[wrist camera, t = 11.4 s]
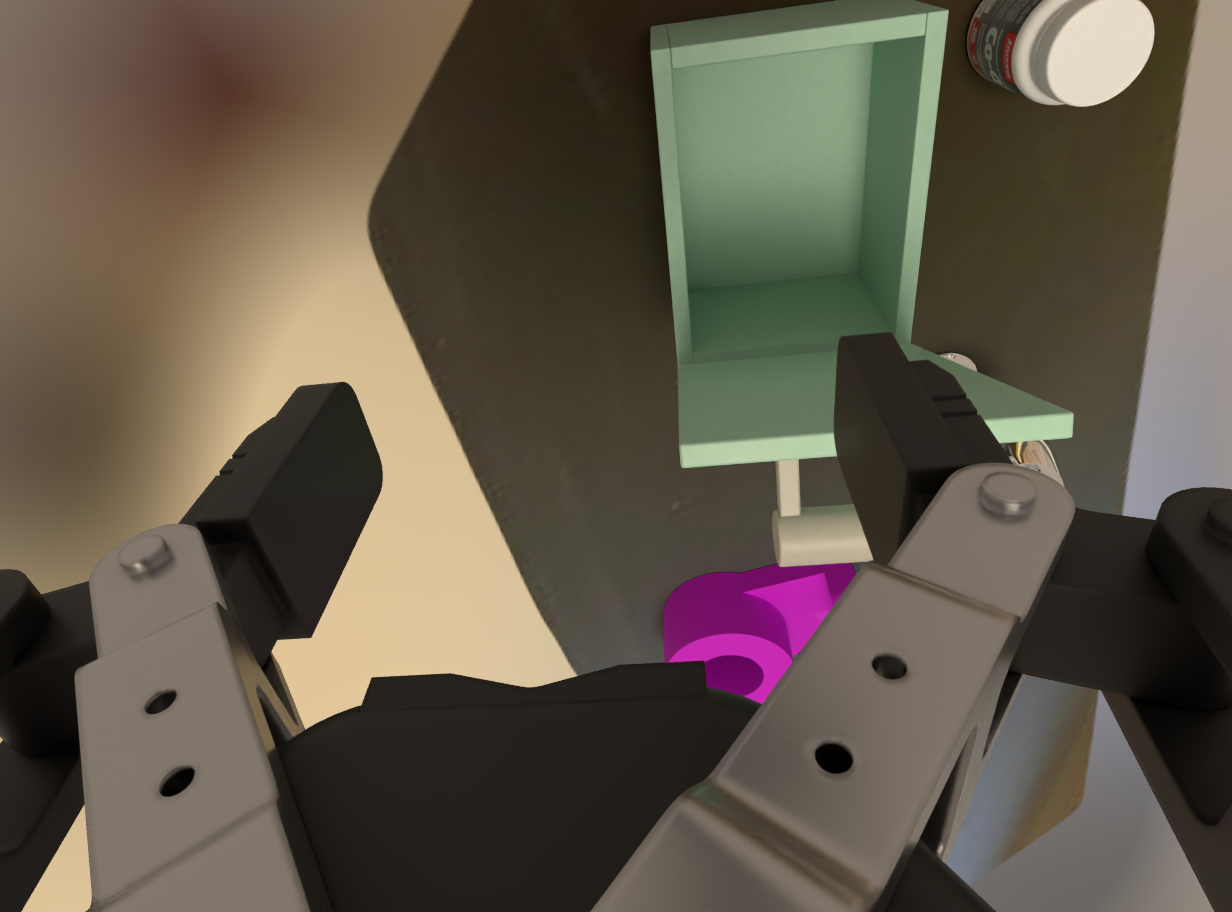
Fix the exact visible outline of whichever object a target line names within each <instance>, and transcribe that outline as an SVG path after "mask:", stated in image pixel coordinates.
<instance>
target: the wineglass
mask: <svg viewBox="0 0 1232 912" xmlns="http://www.w3.org/2000/svg"><path fill="white" fill-rule="evenodd" d="M937 355H939V356H941V357H944V358H946V359H948V360H951V361H953V362H955V363H958V364H960V365H962V366H965V367H967V368H970V369H972V370H974V371H977V372H978V370H977V367H976V365H975V364H974V363H973V361H972V360H971V359H969V358H968V357H967V356H965V355H962V354H959V353H952V352H948V353H941V354H937ZM1000 445H1001V446H1002V448H1003V449H1004V451H1005V452H1006V454H1007V455H1008V457H1009V458H1010V460H1011V461H1012V463H1013V464H1014V465H1018V466H1023V467H1027V468H1030V469H1033V470H1036V471H1038V472H1040V473H1043V474H1045V475H1047V476H1049V477H1050V478H1052V479H1054V480H1055V481H1057V482H1058V483H1059V484H1061V485H1062V486H1063V487H1064V484H1063V480H1062V475H1061V471H1060V468H1059V465H1058V462H1057V459H1056V457H1055V454H1054V452H1053V450H1052V447H1051V445H1050V444H1049V442H1048V440H1037V441H1024V442H1011V443H1000Z"/></svg>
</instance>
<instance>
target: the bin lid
mask: <svg viewBox="0 0 1232 912" xmlns="http://www.w3.org/2000/svg"><path fill="white" fill-rule="evenodd" d="M900 347H901V349H902V350H903V352H904V354H905V355H906V357H907V359H908V360H909V361H918V360H929V361H931V362H933V363H934V364H936V365H938V366H939V367H941V368H943V369H944V370H946V371H947V372H949V373H951V374H952V375H954V377H955V378H956V380H957V381H958V383H959V384H960V386H961V387H962V389H963V390H964V391H965V393H966V394H967V395H966V397H967V399H968V398H969V399H970V400H971V402H972V403H973V405H974V406H975V408H976V409H977V414H978V415H981V417H982V418H983V420H984V421H985V423H986V424H987V426H988V427H989V429H990V430H991V431H992V433H993V434H994V436H995V437H996V439H997V440H998V442H999V443H1011V442H1024V441H1037V440H1050V439H1063V438H1070V437H1072V433H1073V417H1074V415H1073V413H1072V412H1070V411H1068V410H1065V409H1063V408H1061V407H1058V406H1056V405H1054V404H1051V403H1049V402H1047V401H1044V400H1042V399H1040V398H1037V397H1035V396H1033V395H1030V394H1028V393H1026V392H1023V391H1021V390H1019V389H1016V388H1014V387H1012V386H1009V385H1007V384H1005V383H1002V382H1000V381H998V380H995V379H993V378H991V377H988V376H986V375H984V374H981V373H979V372H977V371H974V370H972V369H970V368H967V367H965V366H962V365H960V364H958V363H955V362H953V361H951V360H948V359H946V358H944V357H941V356H939V355H937V354H934V353H932V352H930V351H927V350H925V349H923V348H920V347H918V346H916V345H913V344H903V345H900ZM836 366H837V351H827V352H816V353H805V354H794V355H783V356H772V357H762V358H751V359H740V360H729V361H718V362H707V363H696V364H686V365H679V366H678V406H679V450H680V462H681V466H682V467H683V468H690V467H703V466H715V465H728V464H741V463H754V462H767V461H776V480H777V500H778V509H777V510H774V512H773V518H772V525H773V540H774V549H775V555H776V560H777V563H778V565H779V566H780V567H789V566H805V565H821V564H836V563H852V562H868V561H871V560H873V557H872V554H871V552H870V549H869V546H868V543H867V540H866V537H865V534H864V532H863V529H862V526H861V523H860V520H859V517H858V515H857V512H856V509H855V506H854V504H848V505H834V506H820V507H805V508H801V506H800V481H799V459H805V458H818V457H831V456H837V453H836V448H835V441H834V403H835V385H836ZM873 561H874V560H873Z"/></svg>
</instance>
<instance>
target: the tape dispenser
mask: <svg viewBox="0 0 1232 912" xmlns="http://www.w3.org/2000/svg"><path fill="white" fill-rule="evenodd" d="M854 577H855V572H854V569H853V566H852V563H836V564H821V565H805V566H789V567H780V566H779V565H778V564H775V565H771V566H767V567H763V568H759V569H755V570H751V571H747V572H743V573H733V572H718V573H711V574H706V575H702V576H699V577H696V578H694V579H691V580H689V581H687V582H686V583H684V584H682V585H681V586H680V587H678V588H677V589H676V590H675V591H674V592H673V593H672V594H671V595H670V597H669V598H668V600H667V602H666V604H665V607H664V613H663V619H664V663H666V662H686V661H705V671H706V683H707V687H710V688H716V689H721V690H725V691H728V692H732V693H735V694H738V695H742V696H745V697H747V698H749V699H752V700H754V701H756V702H759V703H761V704H762V703H763V702H764V701H765V699H766V698H767V696H768V695H769V694H770V692H771V691H772V690H773V688H774V687H775V685H776V684H777V683H778V681H779V680H780V679H781V677H782V676H783V674H784V673H785V672H786V670H787V669H788V668H789V666H790V665H791V663H792V662H793V656H792V655H794V654H799V652H800V651H801V650H802V648H803V647H804V646H805V644H806V643H807V641H808V640H809V639H810V637H811V636H812V635H813V633H814V632H815V630H816V629H817V628H818V626H819V625H820V624H821V622H822V621H823V619H824V618H825V617H826V615H827V614H828V613H829V611H830V610H831V608H832V607H833V606H834V604H835V603H836V602H837V600H838V599H839V597H840V596H841V595H842V593H843V592H844V591H845V589H846V588H847V586H848V585H849V584H850V582H851V581H852V580H853V578H854Z"/></svg>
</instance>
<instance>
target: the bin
mask: <svg viewBox="0 0 1232 912" xmlns="http://www.w3.org/2000/svg"><path fill="white" fill-rule="evenodd" d="M948 13H949V10H947V9H943V8H940V7H936V6H933V5H929V4H926V3H922V2H918V1H915V0H836V1H829V2H822V3H815V4H808V5H801V6H793V7H786V8H779V9H772V10H765V11H758V12H750V13H743V14H736V15H729V16H722V17H715V18H708V19H700V20H693V21H686V22H679V23H672V24H665V25H658V26H652V27H651V30H650V39H651V63H652V75H653V86H654V98H655V109H656V121H657V132H658V144H659V155H660V167H661V178H662V190H663V201H664V213H665V224H666V236H667V247H668V259H669V270H670V282H671V293H672V305H673V316H674V328H675V339H676V351H677V362H678V366H679V365H686V364H696V363H707V362H718V361H729V360H740V359H751V358H762V357H772V356H783V355H794V354H805V353H816V352H827V351H837V349H838V343H839V339H840V337H841V336H849V335H859V334H870V333H880V332H891V333H892V334H893V335H894V337H895V338H896V340H897V342H898V343H899V345H903V344H910V340H911V331H912V323H913V314H914V306H915V297H916V288H917V280H918V271H919V263H920V254H921V245H922V237H923V228H924V219H925V211H926V202H927V194H928V185H929V176H930V168H931V159H932V151H933V142H934V133H935V125H936V116H937V108H938V99H939V90H940V82H941V73H942V64H943V56H944V47H945V39H946V30H947V21H948Z"/></svg>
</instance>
